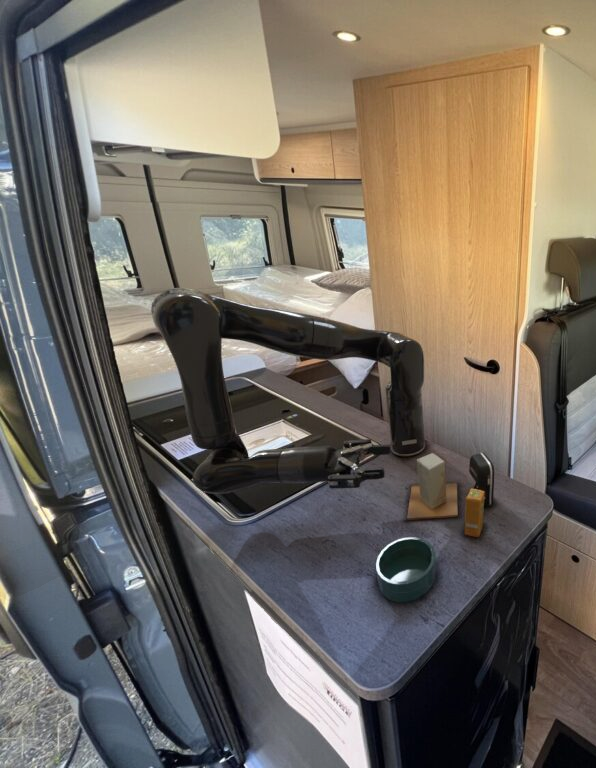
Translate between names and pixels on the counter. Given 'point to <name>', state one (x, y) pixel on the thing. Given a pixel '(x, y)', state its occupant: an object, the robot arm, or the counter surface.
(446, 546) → the counter surface
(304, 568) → the counter surface
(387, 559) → the pot
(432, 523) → the counter surface
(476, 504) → the supplement box
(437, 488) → the box
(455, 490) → the plate
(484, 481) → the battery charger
